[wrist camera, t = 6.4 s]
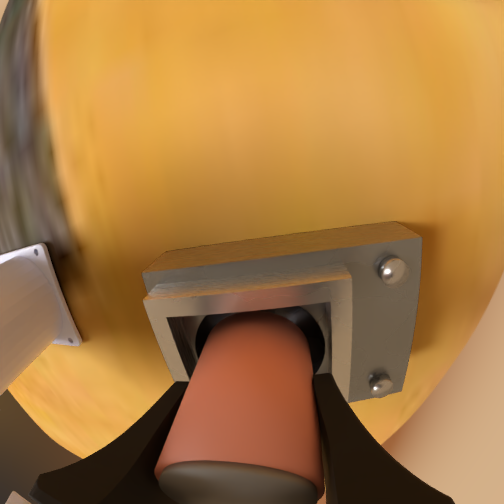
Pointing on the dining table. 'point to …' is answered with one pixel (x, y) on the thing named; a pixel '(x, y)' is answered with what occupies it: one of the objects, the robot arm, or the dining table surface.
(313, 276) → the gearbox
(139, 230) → the dining table surface
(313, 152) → the dining table surface
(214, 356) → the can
